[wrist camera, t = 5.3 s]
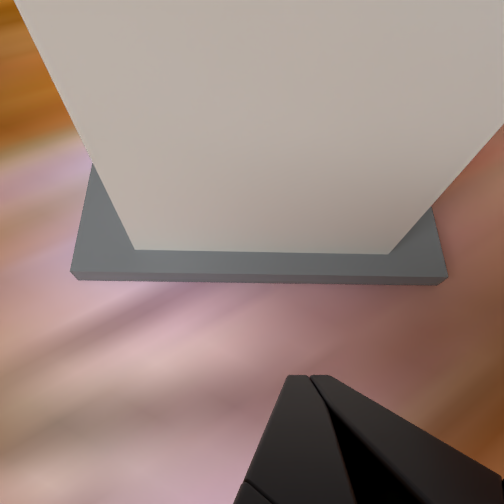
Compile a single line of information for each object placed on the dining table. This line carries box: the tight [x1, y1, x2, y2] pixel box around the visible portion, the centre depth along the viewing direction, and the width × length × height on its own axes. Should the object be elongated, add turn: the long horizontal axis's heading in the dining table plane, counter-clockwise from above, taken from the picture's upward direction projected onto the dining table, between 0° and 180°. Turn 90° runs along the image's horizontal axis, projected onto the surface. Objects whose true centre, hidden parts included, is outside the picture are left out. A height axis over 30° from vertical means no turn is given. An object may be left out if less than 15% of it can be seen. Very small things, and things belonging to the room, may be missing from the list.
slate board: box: [70, 163, 448, 285], centre depth 21 cm, size 18×16×1 cm
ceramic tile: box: [14, 0, 504, 254], centre depth 12 cm, size 3×11×12 cm, turn 91°
